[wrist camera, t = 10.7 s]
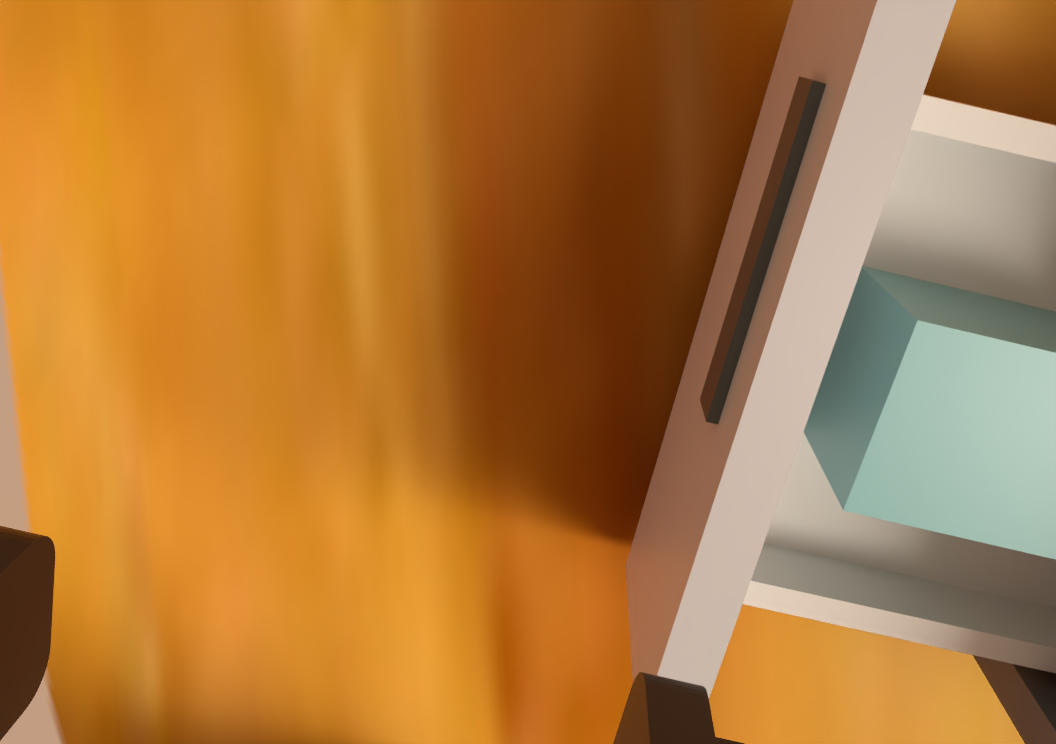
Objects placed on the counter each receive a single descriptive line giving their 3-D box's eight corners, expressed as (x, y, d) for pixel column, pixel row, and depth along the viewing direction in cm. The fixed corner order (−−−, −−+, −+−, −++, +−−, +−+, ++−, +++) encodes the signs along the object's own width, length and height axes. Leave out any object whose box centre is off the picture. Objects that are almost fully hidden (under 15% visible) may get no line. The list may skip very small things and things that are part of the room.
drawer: (616, 563, 32) (625, 735, 24) (785, -15, 25) (867, -24, 18) (1095, 669, 32) (1249, 870, 25) (1382, 126, 26) (1709, 175, 18)
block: (801, 427, 28) (843, 510, 24) (859, 264, 26) (917, 320, 22) (999, 473, 28) (1079, 565, 24) (1070, 314, 27) (1172, 380, 22)
